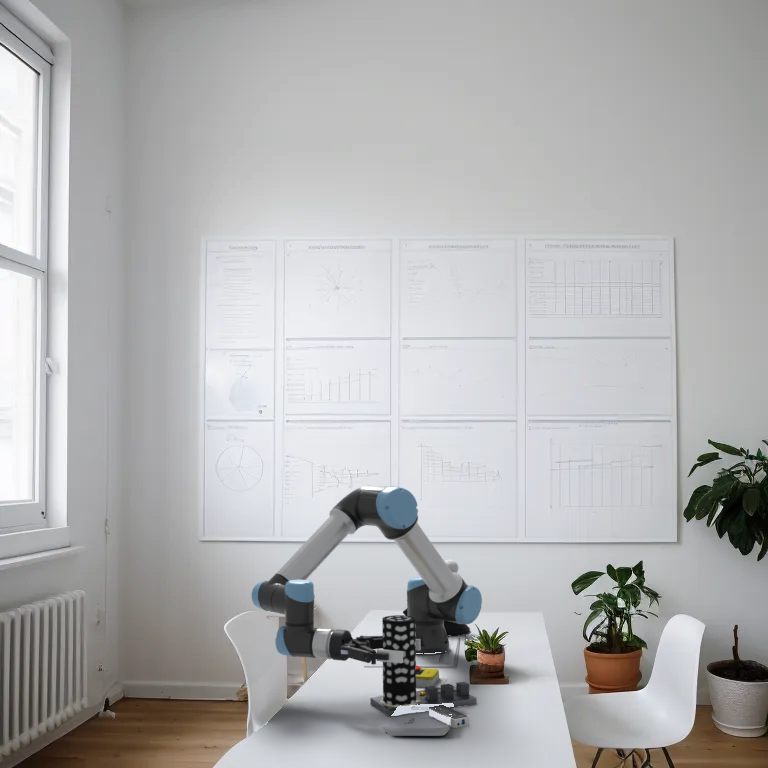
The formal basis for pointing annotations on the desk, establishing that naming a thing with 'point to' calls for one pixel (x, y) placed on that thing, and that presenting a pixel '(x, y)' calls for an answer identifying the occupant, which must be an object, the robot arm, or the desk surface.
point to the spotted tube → (400, 675)
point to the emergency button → (428, 677)
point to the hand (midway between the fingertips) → (411, 650)
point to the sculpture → (450, 627)
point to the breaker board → (455, 701)
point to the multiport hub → (456, 719)
